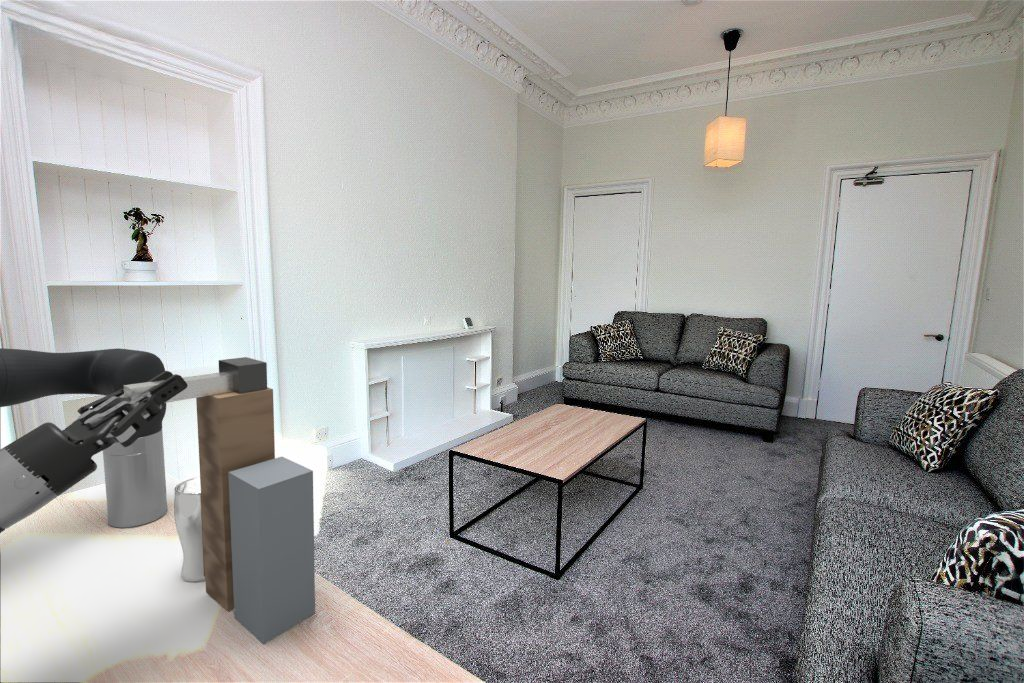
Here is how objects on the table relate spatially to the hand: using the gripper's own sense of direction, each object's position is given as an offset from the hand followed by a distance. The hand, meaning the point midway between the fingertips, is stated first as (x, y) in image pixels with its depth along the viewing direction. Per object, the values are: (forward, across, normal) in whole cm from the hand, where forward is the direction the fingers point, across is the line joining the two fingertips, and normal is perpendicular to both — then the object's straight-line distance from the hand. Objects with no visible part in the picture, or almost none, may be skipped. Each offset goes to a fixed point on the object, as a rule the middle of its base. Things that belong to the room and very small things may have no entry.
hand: (177, 378), depth 64 cm
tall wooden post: (-11, 0, -34) cm, 36 cm away
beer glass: (-13, -9, -33) cm, 37 cm away
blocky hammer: (+1, 0, -4) cm, 4 cm away
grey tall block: (-11, +10, -34) cm, 37 cm away
